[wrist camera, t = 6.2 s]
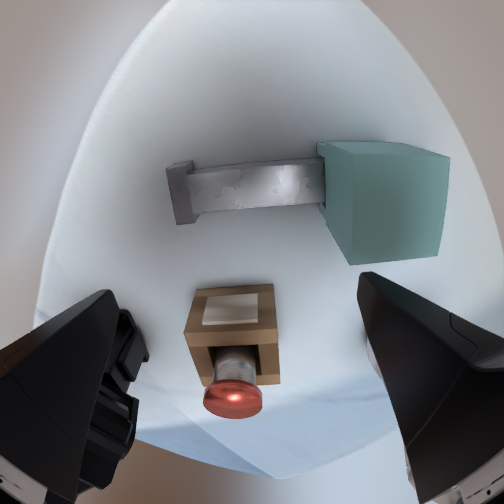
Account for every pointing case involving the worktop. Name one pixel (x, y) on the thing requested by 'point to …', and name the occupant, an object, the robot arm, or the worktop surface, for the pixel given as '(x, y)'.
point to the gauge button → (234, 383)
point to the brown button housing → (234, 328)
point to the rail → (244, 186)
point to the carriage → (384, 199)
